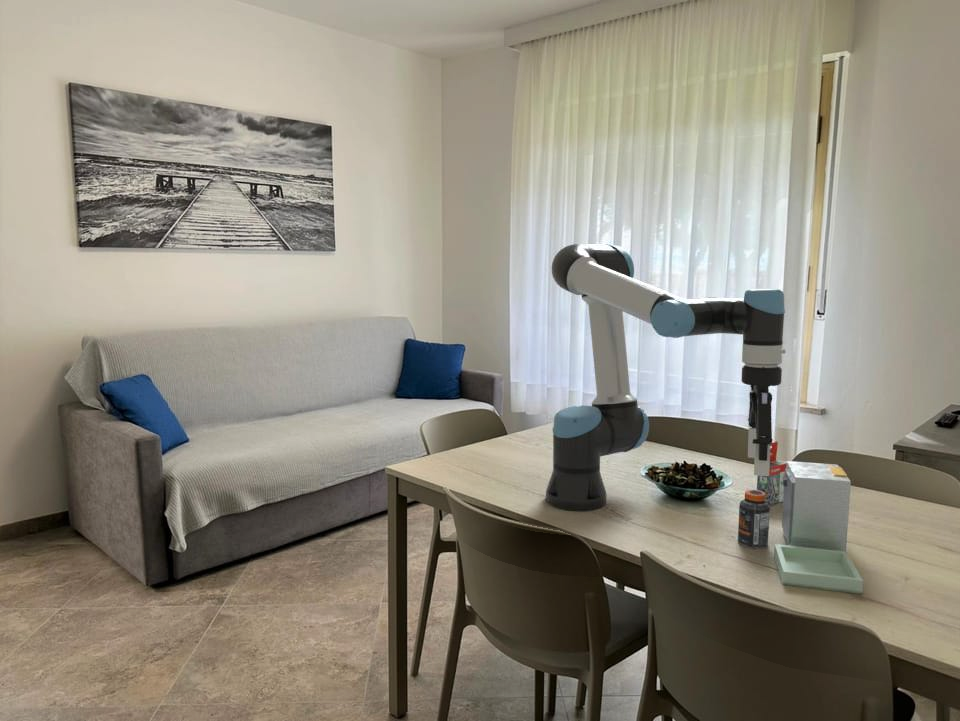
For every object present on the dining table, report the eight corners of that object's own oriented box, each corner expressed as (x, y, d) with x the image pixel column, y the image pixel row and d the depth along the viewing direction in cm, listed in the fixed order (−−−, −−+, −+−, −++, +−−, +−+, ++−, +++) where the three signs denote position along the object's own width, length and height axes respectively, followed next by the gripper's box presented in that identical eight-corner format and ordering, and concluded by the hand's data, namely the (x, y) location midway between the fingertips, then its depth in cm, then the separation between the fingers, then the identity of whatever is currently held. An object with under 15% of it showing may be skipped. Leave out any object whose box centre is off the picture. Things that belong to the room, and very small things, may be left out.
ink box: (787, 500, 167) (790, 444, 165) (768, 506, 162) (771, 448, 160) (774, 496, 170) (777, 440, 168) (755, 502, 165) (758, 445, 163)
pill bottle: (732, 538, 143) (734, 487, 142) (759, 537, 144) (761, 486, 142) (745, 549, 137) (748, 497, 136) (773, 548, 138) (776, 496, 136)
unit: (786, 552, 136) (791, 475, 134) (778, 530, 147) (782, 459, 145) (847, 558, 133) (852, 480, 130) (834, 536, 144) (839, 463, 142)
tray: (782, 584, 122) (783, 571, 122) (773, 555, 134) (774, 544, 134) (862, 594, 118) (863, 580, 118) (845, 563, 130) (846, 551, 130)
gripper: (791, 373, 122) (786, 485, 125) (773, 358, 146) (770, 452, 149) (747, 372, 125) (743, 482, 127) (737, 357, 148) (734, 450, 151)
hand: (757, 466), depth 138 cm, fingers open, 13 cm apart
